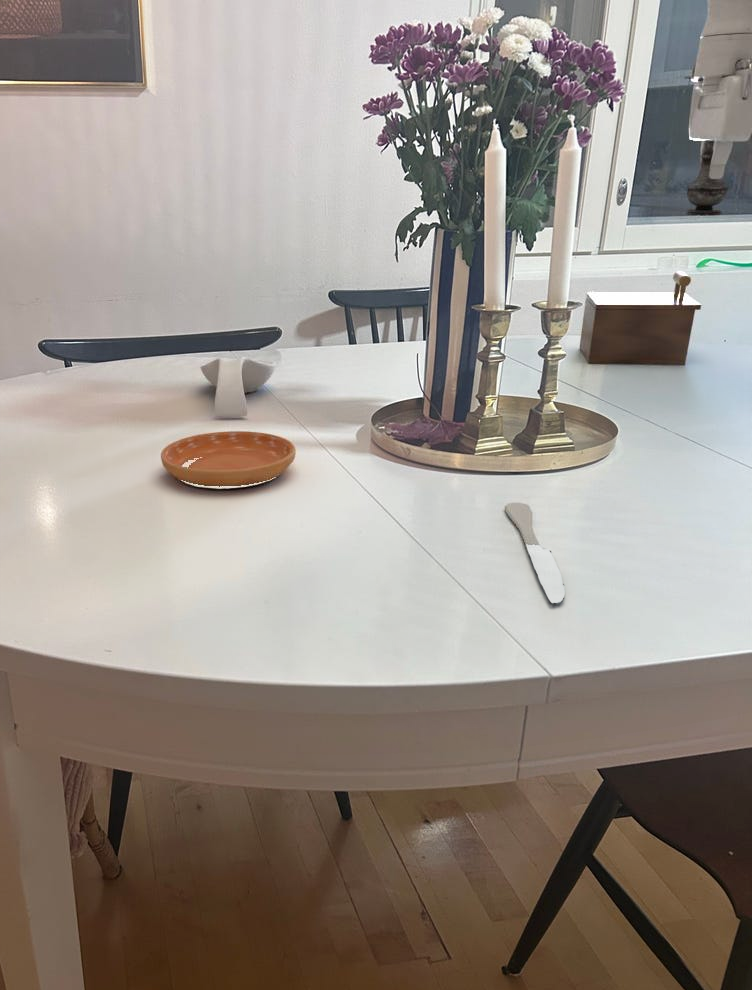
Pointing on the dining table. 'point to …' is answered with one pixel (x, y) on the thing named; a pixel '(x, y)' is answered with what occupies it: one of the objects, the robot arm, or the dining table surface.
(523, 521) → the utensil handle
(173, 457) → the saucer
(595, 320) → the chest
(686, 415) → the dining table surface
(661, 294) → the lid
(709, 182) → the salt shaker
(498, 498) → the dining table surface
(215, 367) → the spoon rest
